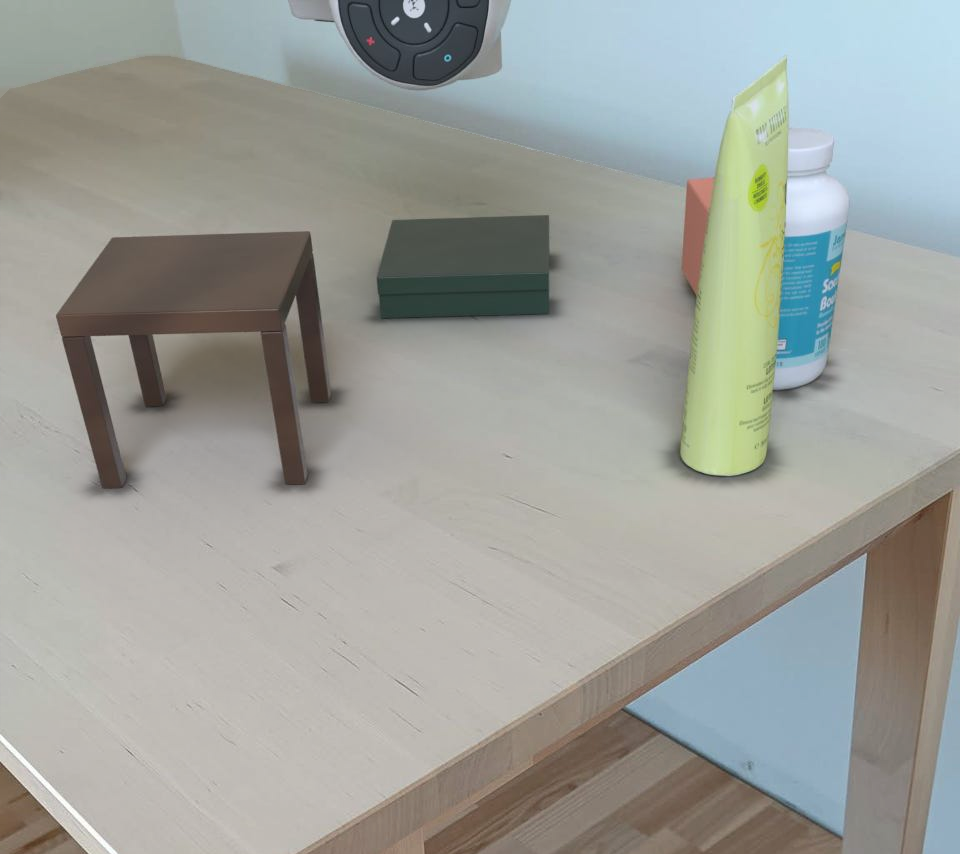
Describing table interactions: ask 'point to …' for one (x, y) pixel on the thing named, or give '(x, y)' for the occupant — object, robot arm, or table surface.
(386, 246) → the green lidded gift box
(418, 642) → the table surface
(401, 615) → the table surface
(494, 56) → the bottle
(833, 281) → the pill bottle
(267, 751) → the table surface
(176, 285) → the small brown table
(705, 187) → the salmon pink upright block
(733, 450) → the tube
